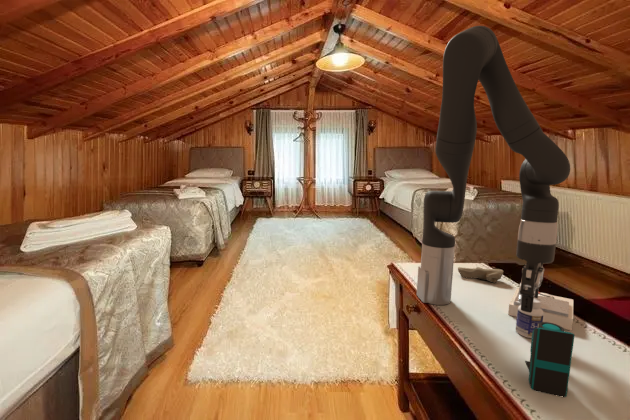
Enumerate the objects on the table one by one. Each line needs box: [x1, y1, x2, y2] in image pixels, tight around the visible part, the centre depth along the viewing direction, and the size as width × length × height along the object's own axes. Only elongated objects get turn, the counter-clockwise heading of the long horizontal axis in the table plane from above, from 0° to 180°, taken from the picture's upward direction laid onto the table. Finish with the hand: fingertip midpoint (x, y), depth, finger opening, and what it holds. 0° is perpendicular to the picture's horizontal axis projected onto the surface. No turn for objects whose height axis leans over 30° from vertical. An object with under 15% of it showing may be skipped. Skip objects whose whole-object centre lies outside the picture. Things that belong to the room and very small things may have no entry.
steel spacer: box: [518, 282, 528, 299], centre depth 94 cm, size 4×4×4 cm
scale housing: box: [507, 287, 574, 331], centre depth 94 cm, size 16×14×4 cm
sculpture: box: [457, 266, 504, 284], centre depth 121 cm, size 7×5×15 cm
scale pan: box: [514, 292, 569, 317], centre depth 92 cm, size 10×12×1 cm
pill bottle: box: [515, 297, 544, 339], centre depth 81 cm, size 5×5×9 cm
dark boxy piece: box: [524, 322, 576, 398], centre depth 64 cm, size 6×12×10 cm
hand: (529, 305), depth 80 cm, fingers open, 8 cm apart
